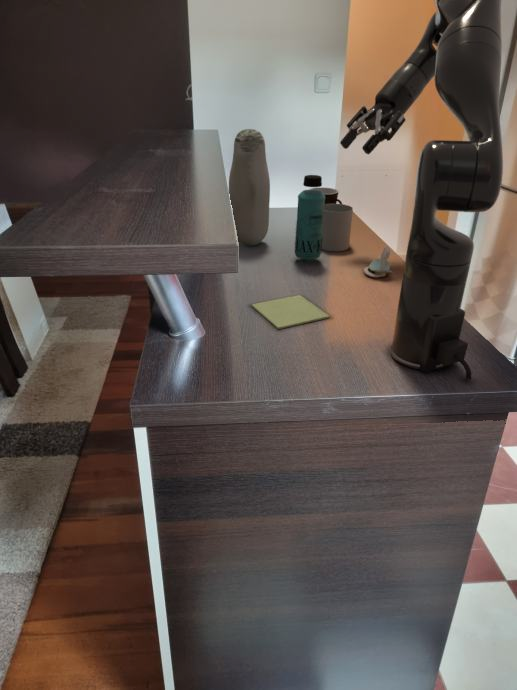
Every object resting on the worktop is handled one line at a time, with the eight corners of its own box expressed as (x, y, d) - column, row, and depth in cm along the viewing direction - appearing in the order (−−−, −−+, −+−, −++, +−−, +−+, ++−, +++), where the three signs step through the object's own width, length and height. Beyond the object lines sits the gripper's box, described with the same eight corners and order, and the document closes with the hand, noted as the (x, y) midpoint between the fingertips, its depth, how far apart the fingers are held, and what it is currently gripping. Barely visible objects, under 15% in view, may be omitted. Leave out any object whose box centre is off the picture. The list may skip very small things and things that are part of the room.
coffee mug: (302, 222, 154) (304, 187, 149) (330, 220, 155) (333, 187, 150) (313, 233, 144) (315, 197, 139) (343, 232, 145) (346, 196, 140)
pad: (329, 317, 97) (329, 315, 97) (278, 329, 93) (278, 327, 92) (299, 296, 105) (299, 294, 105) (251, 306, 101) (251, 304, 101)
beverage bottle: (288, 260, 124) (291, 175, 115) (307, 254, 128) (312, 171, 118) (307, 267, 120) (312, 179, 110) (326, 261, 124) (333, 176, 114)
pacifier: (365, 280, 114) (393, 280, 114) (368, 252, 111) (396, 252, 111) (362, 268, 120) (388, 268, 120) (364, 242, 117) (390, 242, 117)
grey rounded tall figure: (224, 240, 137) (222, 127, 124) (259, 236, 141) (260, 126, 127) (238, 251, 130) (236, 132, 116) (274, 247, 133) (277, 130, 119)
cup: (348, 252, 130) (352, 212, 125) (316, 250, 131) (318, 211, 126) (348, 242, 137) (352, 204, 132) (318, 240, 138) (320, 202, 133)
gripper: (373, 77, 118) (327, 133, 119) (415, 79, 107) (364, 140, 108) (388, 102, 123) (344, 155, 124) (430, 106, 112) (381, 165, 113)
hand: (353, 148), depth 116 cm, fingers open, 8 cm apart
